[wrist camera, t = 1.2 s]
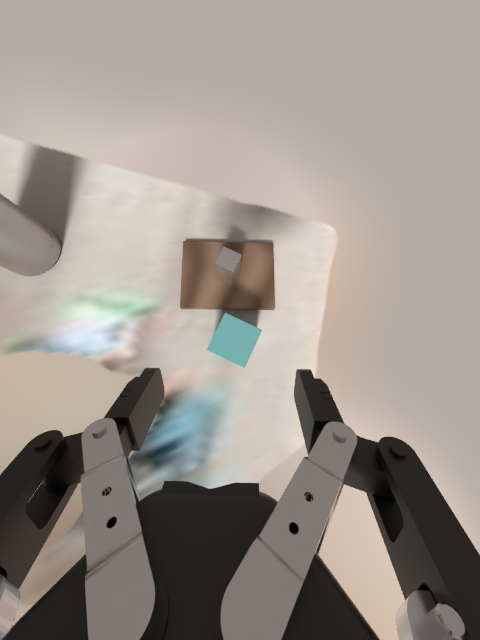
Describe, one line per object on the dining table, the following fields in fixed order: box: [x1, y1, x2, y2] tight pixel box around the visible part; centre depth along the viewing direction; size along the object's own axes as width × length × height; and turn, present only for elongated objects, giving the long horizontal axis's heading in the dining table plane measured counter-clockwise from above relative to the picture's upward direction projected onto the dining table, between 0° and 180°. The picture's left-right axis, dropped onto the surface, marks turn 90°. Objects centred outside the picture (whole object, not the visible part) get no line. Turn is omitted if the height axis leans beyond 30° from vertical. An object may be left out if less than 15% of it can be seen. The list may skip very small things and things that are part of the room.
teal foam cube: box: [207, 313, 262, 368], centre depth 35 cm, size 6×6×8 cm
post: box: [215, 246, 242, 285], centre depth 37 cm, size 3×3×6 cm
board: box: [180, 241, 275, 310], centre depth 40 cm, size 16×12×1 cm
